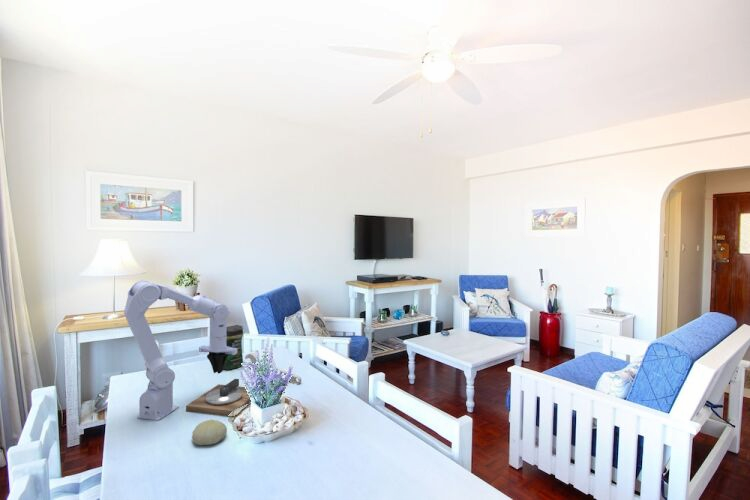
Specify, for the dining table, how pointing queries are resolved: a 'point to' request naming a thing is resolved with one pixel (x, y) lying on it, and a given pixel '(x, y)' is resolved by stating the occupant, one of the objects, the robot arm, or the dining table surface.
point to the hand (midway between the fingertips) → (218, 372)
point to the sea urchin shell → (209, 432)
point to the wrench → (293, 378)
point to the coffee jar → (234, 346)
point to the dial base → (222, 410)
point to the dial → (225, 394)
